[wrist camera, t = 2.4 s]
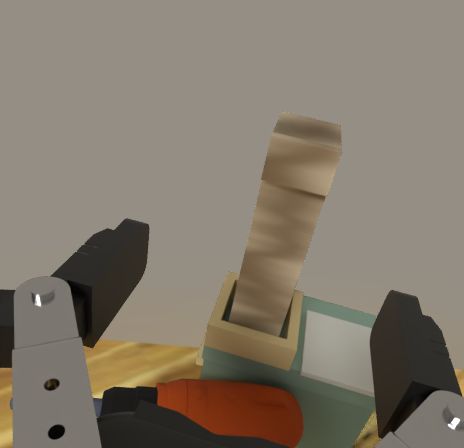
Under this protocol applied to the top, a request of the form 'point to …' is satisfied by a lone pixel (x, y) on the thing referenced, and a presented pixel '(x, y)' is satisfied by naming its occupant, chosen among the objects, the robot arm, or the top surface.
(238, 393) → the toy drill
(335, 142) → the wooden key
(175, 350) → the top surface
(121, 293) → the robot arm
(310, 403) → the tool chest
